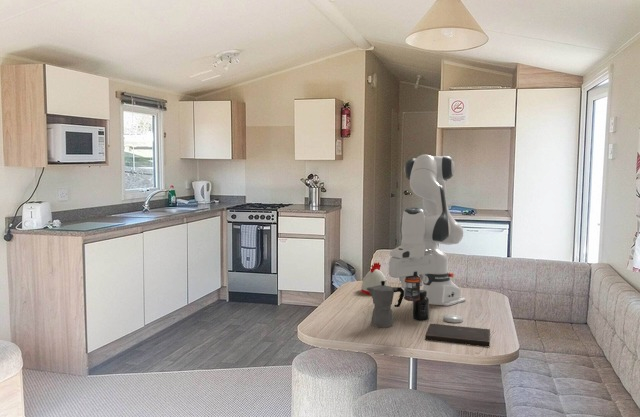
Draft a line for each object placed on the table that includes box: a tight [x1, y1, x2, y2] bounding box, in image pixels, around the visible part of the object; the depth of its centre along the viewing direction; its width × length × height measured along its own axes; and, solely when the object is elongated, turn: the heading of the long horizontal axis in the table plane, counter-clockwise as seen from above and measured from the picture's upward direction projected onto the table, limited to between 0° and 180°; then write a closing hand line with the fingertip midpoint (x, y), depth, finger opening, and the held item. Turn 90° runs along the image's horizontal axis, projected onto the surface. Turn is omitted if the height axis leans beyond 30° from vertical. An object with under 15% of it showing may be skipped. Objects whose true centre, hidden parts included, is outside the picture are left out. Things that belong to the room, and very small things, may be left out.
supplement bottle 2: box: [412, 289, 430, 322], centre depth 227 cm, size 7×7×12 cm
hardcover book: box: [424, 323, 491, 347], centre depth 205 cm, size 16×23×2 cm
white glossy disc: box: [443, 314, 464, 324], centre depth 226 cm, size 8×8×1 cm
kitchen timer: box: [361, 262, 389, 296], centre depth 274 cm, size 14×14×15 cm
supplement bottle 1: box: [403, 271, 421, 302], centre depth 204 cm, size 6×6×11 cm
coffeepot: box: [367, 281, 404, 328], centre depth 219 cm, size 15×9×18 cm, turn 82°
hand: (411, 286), depth 205 cm, fingers closed on supplement bottle 1, 6 cm apart
